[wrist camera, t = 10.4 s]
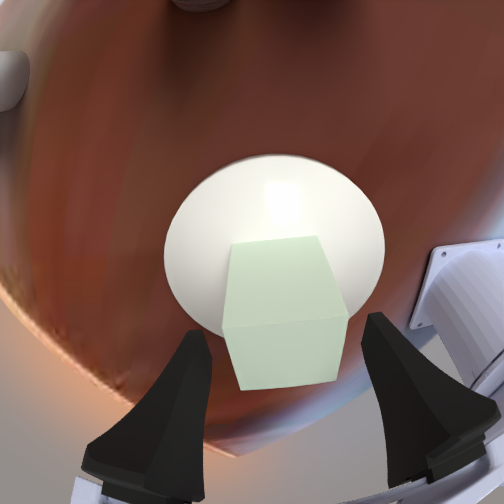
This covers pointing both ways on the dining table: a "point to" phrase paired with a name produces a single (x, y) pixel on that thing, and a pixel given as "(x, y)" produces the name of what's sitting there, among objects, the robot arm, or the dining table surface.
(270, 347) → the sage block
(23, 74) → the white rounded domed part
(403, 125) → the dining table surface
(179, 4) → the salt shaker
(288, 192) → the plate
